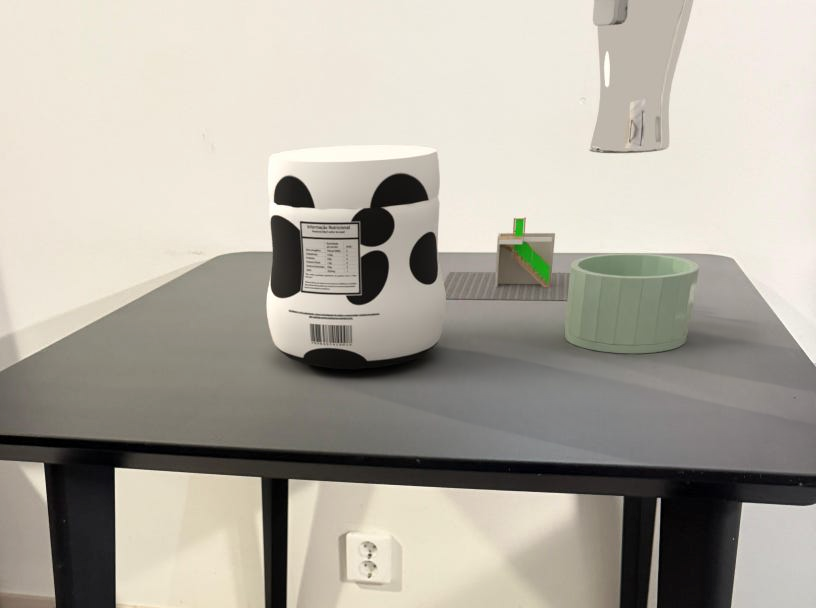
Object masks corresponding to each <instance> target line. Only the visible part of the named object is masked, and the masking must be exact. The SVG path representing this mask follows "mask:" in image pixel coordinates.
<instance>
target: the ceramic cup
mask: <svg viewBox="0 0 816 608" xmlns="http://www.w3.org/2000/svg"><path fill="white" fill-rule="evenodd" d="M569 269H570V270H569V273H570V279H569V289H568V299H567V300H566V310H565V322H564V334H563V335H564V339H565V340H566V341H567V342H568V343H570V344H572V345H574V346H576V347H579V348H582V349H585V350H586V349H587V350H590V351H597V352H603V353H611V354H629V355H630V354H637V355H638V354H653V353H662V352H668V351H670V350H675V349H677V348H679V347H682V346H683V345H684V344H685V343H686V342H687V338H688V334H689V330H690V324H691V319H692V311H693V305H694V300H695V295H696V289H697V288H696V287H697V284H698V283H697V282H698V276H699V271H700V268H699V264H698V263H696V262H695V261H692V260H691V259H687V258H683V257H679V256H672V255H665V254H657V253H640V252H639V253H635V252H634V253H632V252H630V253H629V252H626V253H625V252H623V253H605V254H604V253H603V254H596V255H589V256H584V257H580V258H578V259H576V260H574V261H572V262H571V264H570V268H569Z"/></svg>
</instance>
